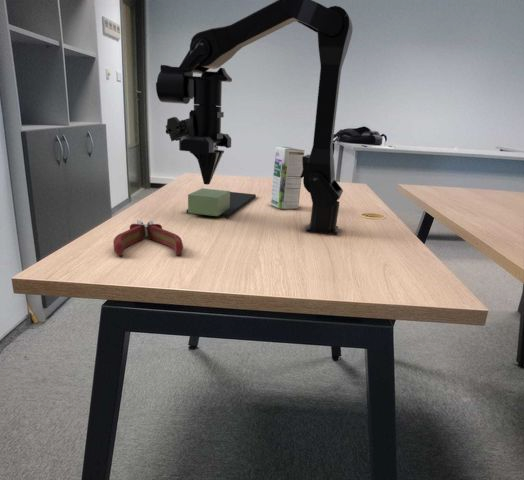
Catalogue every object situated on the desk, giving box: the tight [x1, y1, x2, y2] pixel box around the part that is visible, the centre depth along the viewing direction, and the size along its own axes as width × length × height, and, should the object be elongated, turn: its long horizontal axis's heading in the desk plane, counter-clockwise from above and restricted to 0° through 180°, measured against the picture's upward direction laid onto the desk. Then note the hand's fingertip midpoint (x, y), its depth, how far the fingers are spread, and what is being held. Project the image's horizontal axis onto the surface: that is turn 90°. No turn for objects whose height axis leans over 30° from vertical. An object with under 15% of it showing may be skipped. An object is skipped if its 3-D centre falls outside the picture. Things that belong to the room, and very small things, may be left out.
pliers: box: [112, 219, 184, 257], centre depth 86 cm, size 12×20×3 cm, turn 15°
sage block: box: [187, 187, 231, 217], centre depth 109 cm, size 4×7×10 cm
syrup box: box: [270, 146, 305, 210], centre depth 121 cm, size 6×6×14 cm
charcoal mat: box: [186, 191, 257, 219], centre depth 122 cm, size 30×10×1 cm, turn 168°
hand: (206, 184), depth 105 cm, fingers closed
